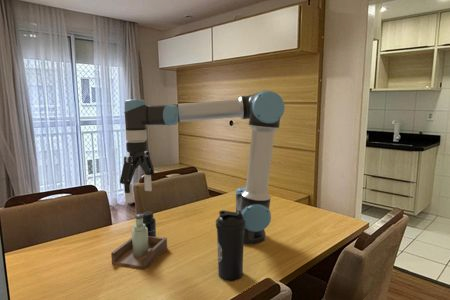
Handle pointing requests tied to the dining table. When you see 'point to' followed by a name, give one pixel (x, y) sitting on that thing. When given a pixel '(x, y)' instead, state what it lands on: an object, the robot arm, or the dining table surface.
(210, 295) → the dining table surface
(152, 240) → the u rest
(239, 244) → the water bottle
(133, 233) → the bottle
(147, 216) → the supplement bottle
